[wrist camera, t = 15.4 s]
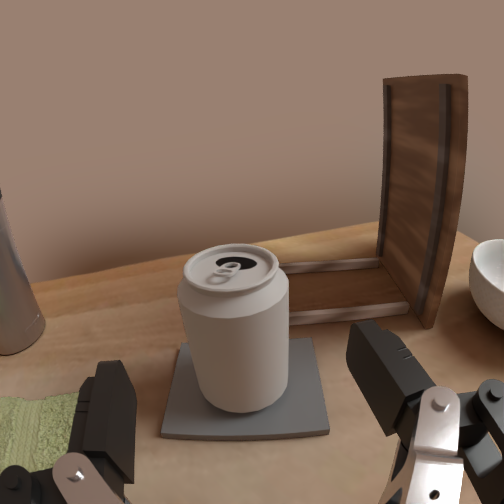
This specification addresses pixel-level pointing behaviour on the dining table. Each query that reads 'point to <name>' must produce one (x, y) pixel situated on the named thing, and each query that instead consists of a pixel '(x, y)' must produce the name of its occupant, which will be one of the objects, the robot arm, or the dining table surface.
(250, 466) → the dining table surface
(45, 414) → the washcloth
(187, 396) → the slate board
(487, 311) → the cereal bowl
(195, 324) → the can
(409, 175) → the wooden stand
